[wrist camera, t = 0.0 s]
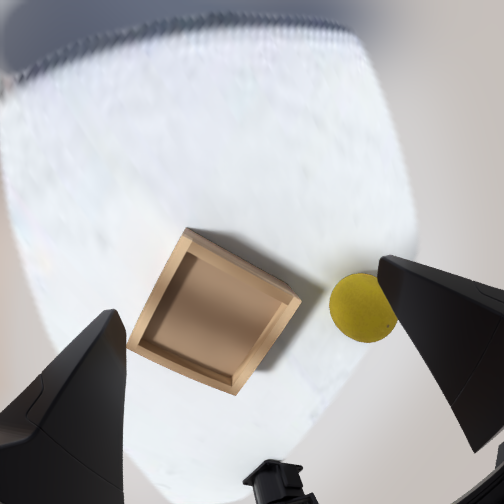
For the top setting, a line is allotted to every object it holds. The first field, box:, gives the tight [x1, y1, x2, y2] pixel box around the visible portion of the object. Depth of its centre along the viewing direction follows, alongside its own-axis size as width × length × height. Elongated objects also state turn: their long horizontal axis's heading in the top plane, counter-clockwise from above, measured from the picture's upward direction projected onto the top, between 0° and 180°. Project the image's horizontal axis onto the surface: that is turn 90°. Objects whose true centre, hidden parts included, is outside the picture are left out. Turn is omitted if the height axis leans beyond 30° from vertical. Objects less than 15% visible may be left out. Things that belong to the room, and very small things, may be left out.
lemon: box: [329, 273, 398, 343], centre depth 23 cm, size 6×6×8 cm
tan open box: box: [126, 228, 302, 396], centre depth 23 cm, size 10×10×4 cm
